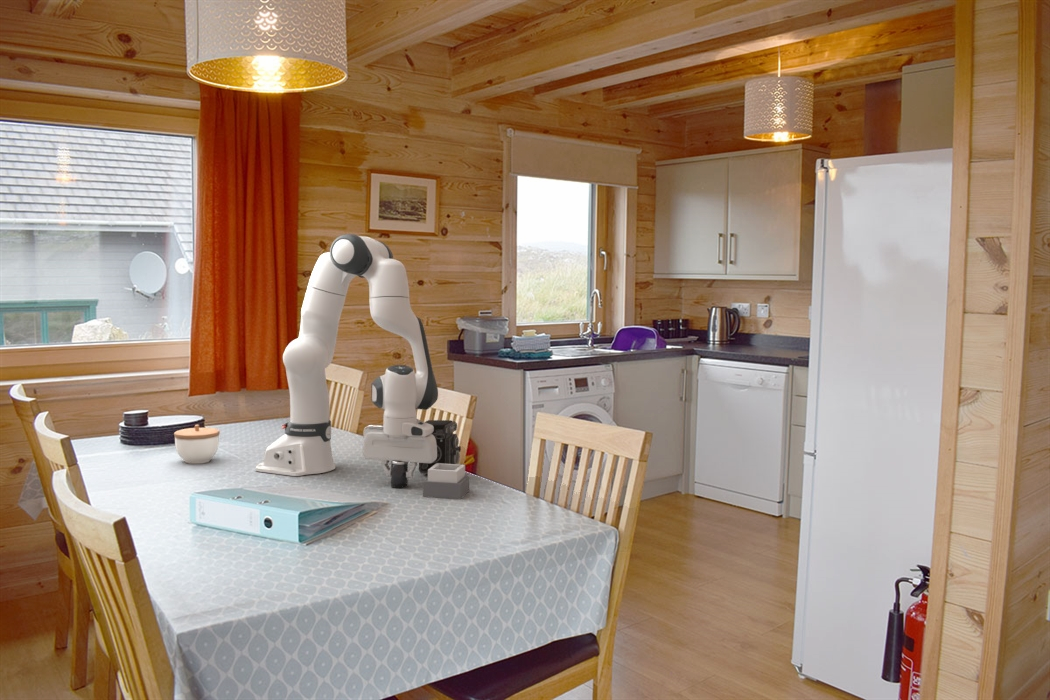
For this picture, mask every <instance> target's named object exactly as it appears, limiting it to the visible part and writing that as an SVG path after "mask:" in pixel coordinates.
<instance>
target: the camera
mask: <svg viewBox="0 0 1050 700" xmlns="http://www.w3.org/2000/svg"><path fill="white" fill-rule="evenodd" d="M425 422H426V423H428V424H431V425H433V427H434V431H433V433H431V434H432V435H434V437H435V439H436V444H437V459H436V460H435V461H434V462H433V463H418V471H419V472H418V473H420V474H422V476H425V475H428V469H430V468H431V467H432V466H434V465H435V464H436V463H443V464H459V465H460V458H461V455H460V453H461V450H462V446H460V445H459V444H460V440H459V437H458V434H457V433H454V432H456V431H457V430H458V423H457V422H456V421H454V420H452V419H451V420H449V419H447V420H445V419H443V420H442V419H440V420H439V419H438V420H437V419H436V420H435V419H428V420H426V421H425Z"/></svg>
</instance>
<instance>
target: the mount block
mask: <svg viewBox="0 0 1050 700" xmlns="http://www.w3.org/2000/svg"><path fill="white" fill-rule="evenodd" d="M469 491H470V475H468V474H467V475H466V465H465V464H460V463H459V464H443V463H436V464H435V465H434V466H432V467H431V468H430V469H428V474H427V477H426V478H425V479H424V480H423V481H422V498H423V497H424V498H435V499H448V500H449V499H451V500H461V499H462V498H464V497H465V496H466V494H467V493H468V492H469Z"/></svg>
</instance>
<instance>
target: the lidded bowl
mask: <svg viewBox="0 0 1050 700" xmlns="http://www.w3.org/2000/svg"><path fill="white" fill-rule="evenodd" d="M173 435H174V445H175V449H176V452H177V455H178V456H179V458H181V460H183V461H184V463H185V464H193V465H195V464H205V463H209V462H210V461H211V460H212V458H213V457H214V456H215V455H216V454H217V452H218V449H219V444H220V429H218V428H214V427H200V424H195V425H194V427H188V428H184V429H183V428H182V429H179V430H176V431H175V432H174V433H173Z"/></svg>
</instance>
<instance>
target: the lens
mask: <svg viewBox="0 0 1050 700" xmlns="http://www.w3.org/2000/svg"><path fill="white" fill-rule="evenodd" d="M390 465H391V466H390V469H391V477H390V486H391V487H392V488H399V489H401V488H407V487H408V480H409V478H406V472H407V471H408V470H409V469H408V468H409V462H402V461H390Z"/></svg>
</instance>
